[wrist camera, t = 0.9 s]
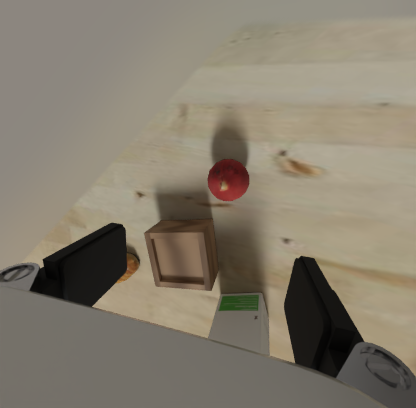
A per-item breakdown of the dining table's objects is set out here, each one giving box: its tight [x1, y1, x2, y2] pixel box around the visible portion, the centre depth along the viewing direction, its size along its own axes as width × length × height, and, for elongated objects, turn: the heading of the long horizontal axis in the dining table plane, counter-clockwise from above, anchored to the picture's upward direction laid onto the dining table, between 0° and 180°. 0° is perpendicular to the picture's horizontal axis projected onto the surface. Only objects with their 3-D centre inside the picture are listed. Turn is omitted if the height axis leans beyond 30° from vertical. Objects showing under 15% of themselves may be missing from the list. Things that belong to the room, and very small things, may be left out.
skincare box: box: [208, 292, 270, 356], centre depth 29 cm, size 8×7×16 cm
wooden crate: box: [144, 219, 219, 291], centre depth 33 cm, size 10×10×6 cm
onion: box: [208, 159, 249, 201], centre depth 27 cm, size 6×6×8 cm
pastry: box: [116, 253, 140, 283], centre depth 40 cm, size 9×7×4 cm
